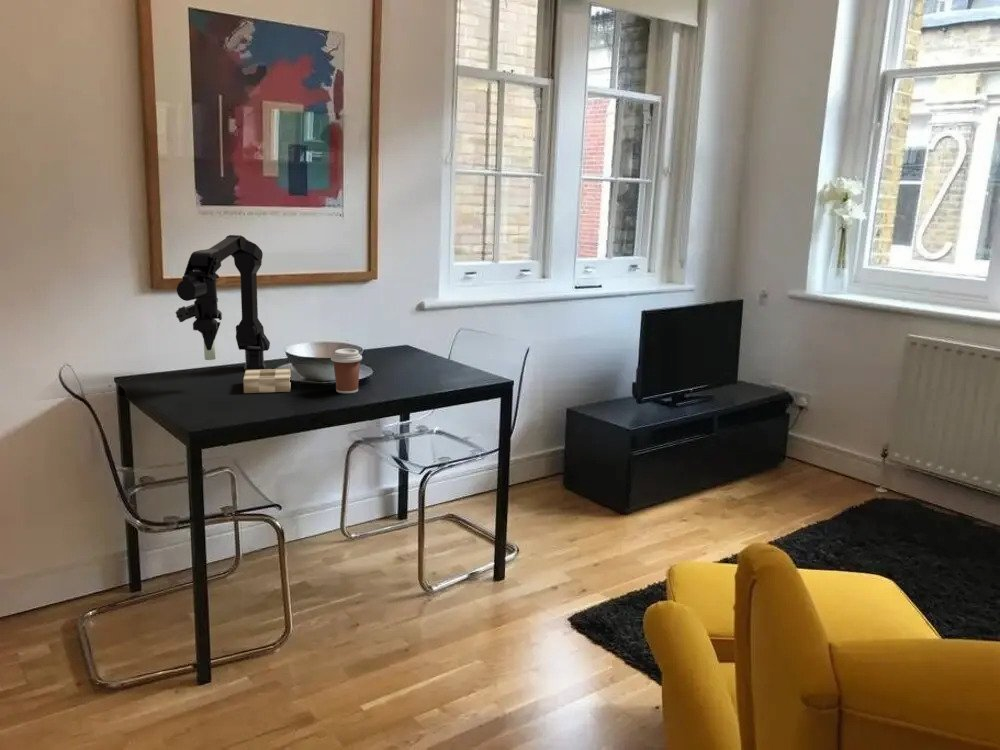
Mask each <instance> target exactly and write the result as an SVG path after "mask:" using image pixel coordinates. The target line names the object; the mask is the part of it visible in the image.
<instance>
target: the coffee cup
mask: <svg viewBox="0 0 1000 750" xmlns="http://www.w3.org/2000/svg"><path fill="white" fill-rule="evenodd" d="M330 360H331V361H332V362H333V371H334V380H335V390H336V392H337V393H339V394H355V393H357V392H359V384H360V383H359V381H360V369H361V368H360V365H361V361H363V356H362V355H361V354H360V352H359V350H358V349H355V348H339V349H336V350H334V354H333V355H331V356H330Z"/></svg>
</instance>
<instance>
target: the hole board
mask: <svg viewBox="0 0 1000 750" xmlns="http://www.w3.org/2000/svg"><path fill="white" fill-rule="evenodd" d="M290 377H291V368H273V369H272V368H265V369H260V370H245V372H244V376H243V383H242V384H243V394H254V393H255V394H259V393H260V394H261V393H280V392H281V393H282V392H283V393H284V392H285V393H286V392H287V393H288V392H291V383H292V381H291V382H290Z"/></svg>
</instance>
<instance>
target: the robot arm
mask: <svg viewBox="0 0 1000 750" xmlns="http://www.w3.org/2000/svg"><path fill="white" fill-rule="evenodd" d="M263 254H264V253H263V251H262V249H261V248H260V247H259V246H258V244H256V243H254V242H252V241H250V240H248V239H247V238H246V237H244V236H242V235H238V234H237V235H236V234H228V235H226V236H225V238H224V239H222V240H220V241H219V242H217V243H216V244H214V245H212V246H211V247H210V248H207V249H199V250H196V251H193V252H192V253H191V254H190V257H189V259H188V262H187V265H186V268H185V271H184V272H183V273H184V274H183V276H182V280H181V281H179V283H178V284H177V287H176V293H177V296H178V297H179V298H180V299H181V300H183V301H186V302H188V301H192V300H194V302H193V304H190V305H187V306H185V305H184V306H182V307H178V309H177V310H176V311H175V315H176V318H177V319H178V321H179V323H183V322H185V321H186V320H189V319H191V318H194V319H195V320H194V321H193V323H192V330H193V331H198V332H199V333H200V334H201V336H202V340H203V343H204V342H205V345H206V348H207V350H211V348H212V345H213V342H214V340H216V338H217V337H216V336H217V334H218V332H219V328H220V326H221V321H222V320H223V313H222V311H221V310H219V308H218V307H219V306H218V302H219V298H218V291H217V279H219V278H220V275H218V273H217V271H218V270H219V269H220V268H221V267H222V261H224V260H225V259H227V258H229V257H230V256H231V257H232V258H233V261H234V266H235V267H236V269H237V271H238V272H239V274H240V299H241V301H240V302H241V303H240V304H241V320H240V322H239V324H237V325H236V326H235V332H236V333H235V340H236V343H237V348H238V350H239V351H241V350H243V351H244V353H245V354H244V355H245V357H244V358H245V364H244V368H243V370H244V371H246V370H260V369H266V363H265V361H264V360H265V358H264V356H265V355H264V352H265V351H269V349H270V347H271V346H270V344H271V342H270V340H269V339H268V337H267V336H266V334H265V330H264V329H265V328H264V326H263V324H262V323H261V322H260V320H259V313H258V311H259V310H258V308H259V307H258V281H257V280H258V279H257V273H258V272H259V270H260V268H261V266H262V264H263V263H262V262H263V261H262V260H263ZM216 319H218V320H216ZM219 321H220V322H219Z"/></svg>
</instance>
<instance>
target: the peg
mask: <svg viewBox="0 0 1000 750" xmlns="http://www.w3.org/2000/svg"><path fill="white" fill-rule="evenodd" d="M215 340H216V339H215ZM215 340H214V342H213V345H212V348H211V350H207V348H206V345H205V342H204V341H203V350H204V360H205V361H214V360H216V359H217V358H216V344H215V343H216V342H215Z"/></svg>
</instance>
